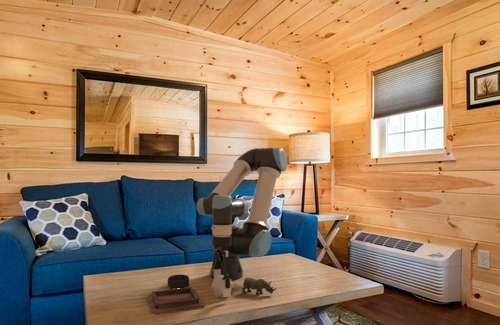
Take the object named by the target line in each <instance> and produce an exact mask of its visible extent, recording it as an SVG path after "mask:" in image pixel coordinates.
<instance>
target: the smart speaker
mask: <svg viewBox="0 0 500 325" xmlns="http://www.w3.org/2000/svg"><path fill="white" fill-rule="evenodd" d="M189 286H190V277H189V275H186V274H173V275H171V276H168V278H167V288H169V287H170V288H169V289H171V288H175V289H177V288H185V287H186V288H188V287H189Z"/></svg>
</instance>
